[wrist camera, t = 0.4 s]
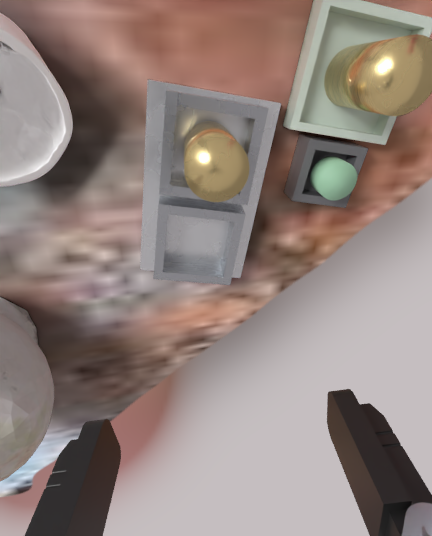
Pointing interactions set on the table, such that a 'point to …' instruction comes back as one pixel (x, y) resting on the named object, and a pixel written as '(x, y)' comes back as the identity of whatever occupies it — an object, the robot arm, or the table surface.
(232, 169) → the billet
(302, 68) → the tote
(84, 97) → the table surface
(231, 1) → the table surface
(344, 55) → the billet
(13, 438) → the ceramic pitcher
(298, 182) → the console
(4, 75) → the skull bowl
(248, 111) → the tray
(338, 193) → the button
